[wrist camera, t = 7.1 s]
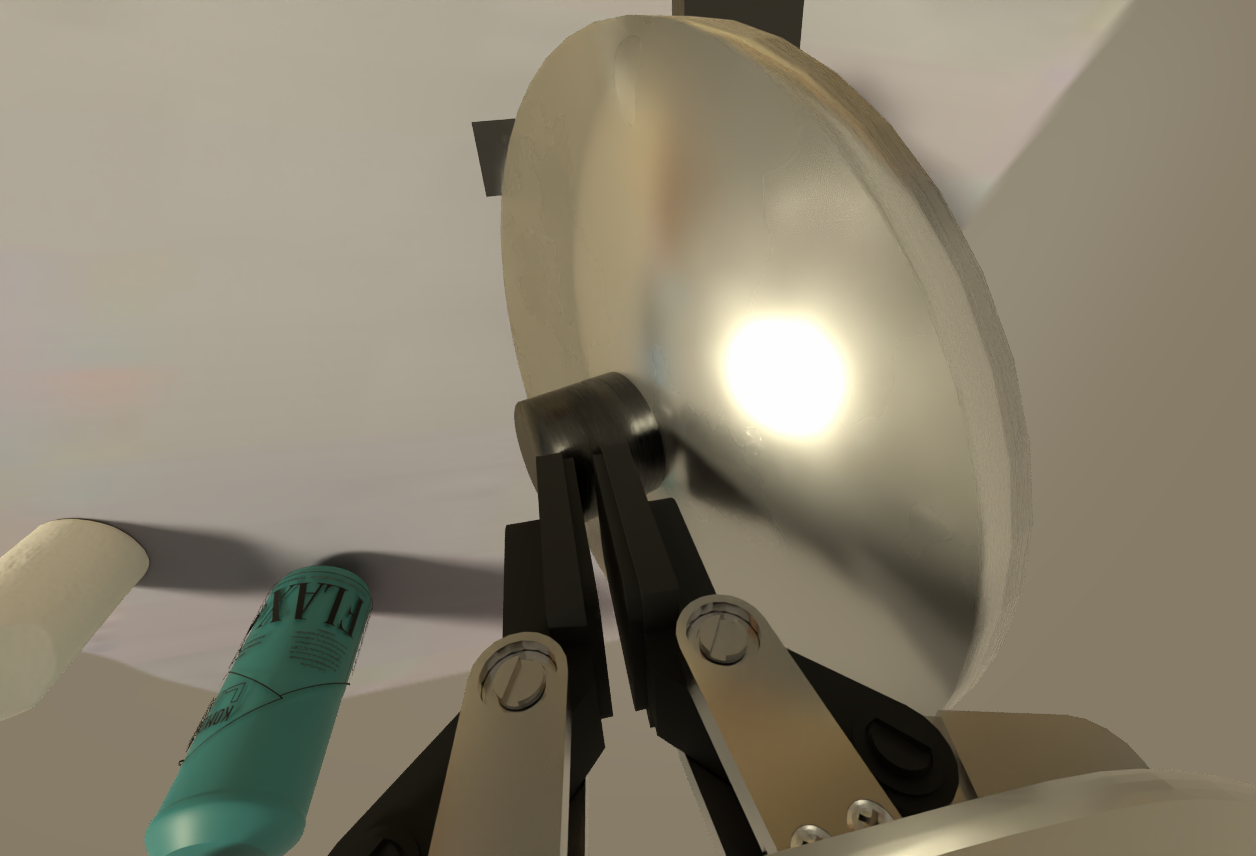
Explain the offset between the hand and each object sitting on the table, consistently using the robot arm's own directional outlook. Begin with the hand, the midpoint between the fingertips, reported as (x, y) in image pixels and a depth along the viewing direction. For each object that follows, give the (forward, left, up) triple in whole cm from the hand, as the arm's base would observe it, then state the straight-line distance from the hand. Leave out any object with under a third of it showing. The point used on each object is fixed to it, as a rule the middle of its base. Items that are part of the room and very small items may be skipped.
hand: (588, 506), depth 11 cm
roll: (+14, -30, -21) cm, 39 cm away
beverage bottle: (+20, -18, -21) cm, 34 cm away
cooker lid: (0, +3, -3) cm, 4 cm away
